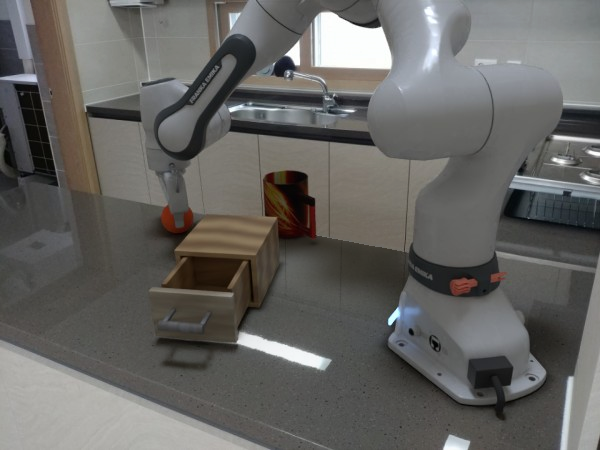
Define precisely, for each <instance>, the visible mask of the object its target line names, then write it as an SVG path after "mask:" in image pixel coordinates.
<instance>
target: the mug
mask: <svg viewBox="0 0 600 450" xmlns="http://www.w3.org/2000/svg"><path fill="white" fill-rule="evenodd" d="M262 189H263V206H264V217H277V220H278V221H277V222H278V239H291V238H293V239H294V238H298V237H302V236H306V237H307V238H309V239H311V240H314V239H317V219H316V218H317V217H316V198H315V197H313V196H311V195H309V175H308V174H307V173H306V172H303V171H299V170H293V169H291V170H290V169H283V170H282V169H281V170H275V171H271V172H268V173H266V174H264V175H263V177H262Z"/></svg>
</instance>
